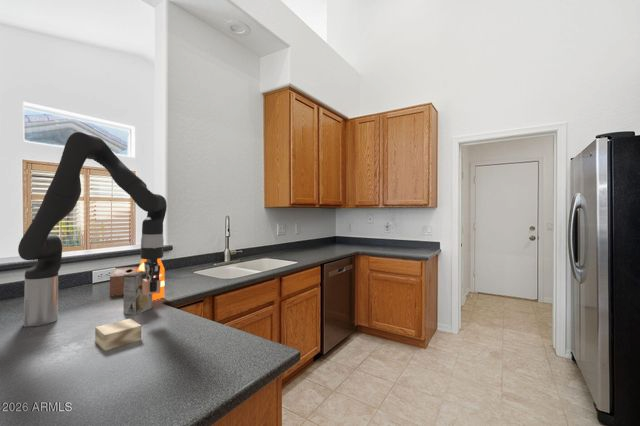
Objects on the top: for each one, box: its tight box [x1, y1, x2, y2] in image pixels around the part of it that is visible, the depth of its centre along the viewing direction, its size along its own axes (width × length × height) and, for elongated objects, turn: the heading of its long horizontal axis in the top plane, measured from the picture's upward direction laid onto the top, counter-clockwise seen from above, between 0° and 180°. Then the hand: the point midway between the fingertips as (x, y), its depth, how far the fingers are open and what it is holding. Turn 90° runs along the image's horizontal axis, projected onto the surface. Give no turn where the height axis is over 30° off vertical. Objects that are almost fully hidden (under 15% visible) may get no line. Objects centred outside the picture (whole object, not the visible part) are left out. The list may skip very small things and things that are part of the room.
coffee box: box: [123, 271, 154, 315], centre depth 124 cm, size 9×6×16 cm
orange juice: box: [137, 258, 166, 301], centre depth 140 cm, size 8×9×20 cm
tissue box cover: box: [109, 266, 139, 297], centre depth 160 cm, size 26×14×10 cm, turn 29°
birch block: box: [94, 318, 142, 351], centre depth 95 cm, size 10×10×5 cm
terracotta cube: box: [142, 278, 161, 295], centre depth 111 cm, size 5×5×5 cm
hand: (151, 289), depth 111 cm, fingers closed on terracotta cube, 5 cm apart
